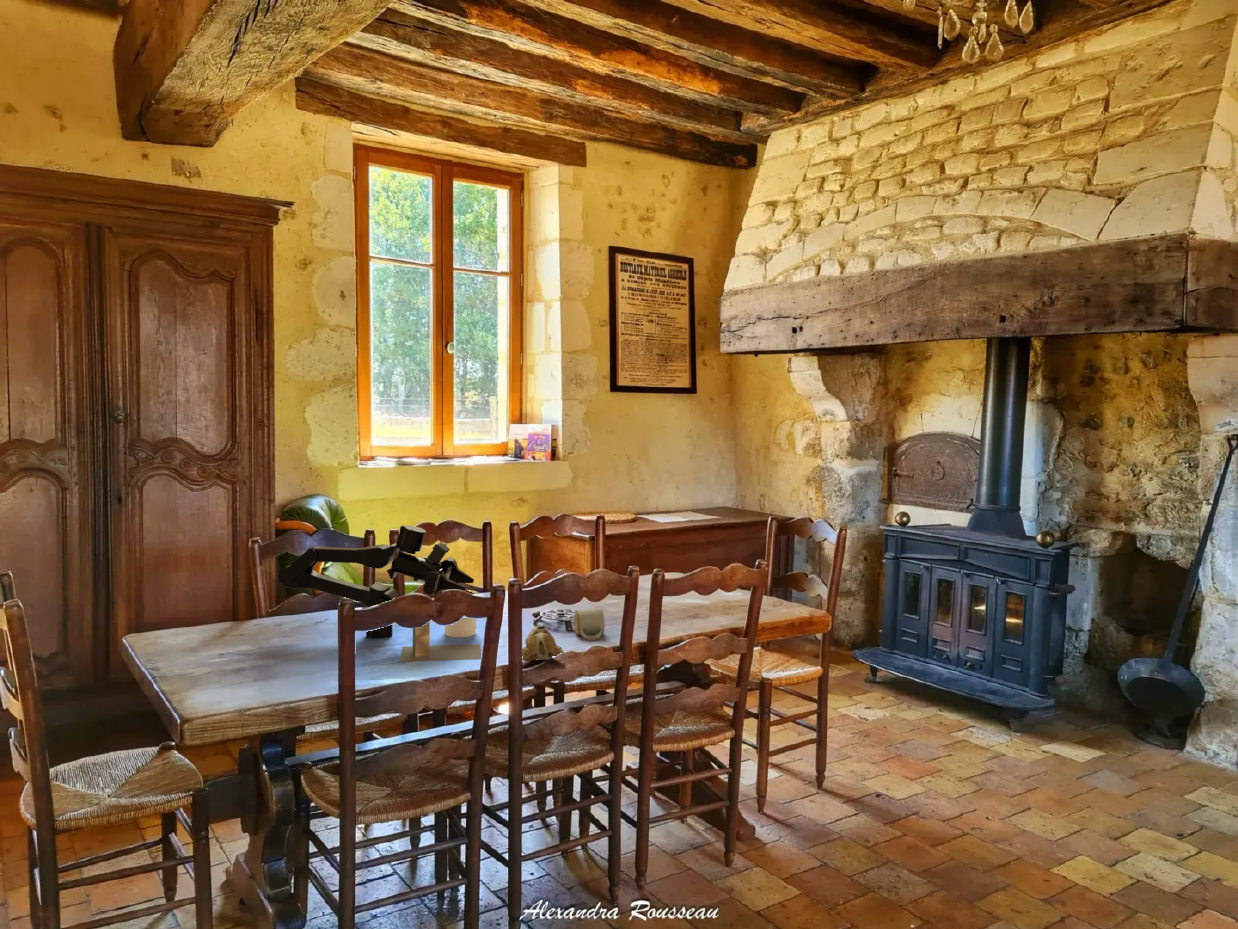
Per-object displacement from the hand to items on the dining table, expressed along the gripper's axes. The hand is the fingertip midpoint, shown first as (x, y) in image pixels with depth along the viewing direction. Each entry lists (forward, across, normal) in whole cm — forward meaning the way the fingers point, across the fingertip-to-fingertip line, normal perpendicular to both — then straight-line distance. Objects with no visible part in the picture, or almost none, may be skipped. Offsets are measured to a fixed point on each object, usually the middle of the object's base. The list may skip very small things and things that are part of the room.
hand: (469, 585), depth 242 cm
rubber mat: (+1, -15, +15) cm, 21 cm away
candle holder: (+1, +4, +16) cm, 17 cm away
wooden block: (-4, -16, +16) cm, 23 cm away
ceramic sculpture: (+25, -14, +8) cm, 30 cm away
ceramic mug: (+35, +10, +6) cm, 37 cm away
